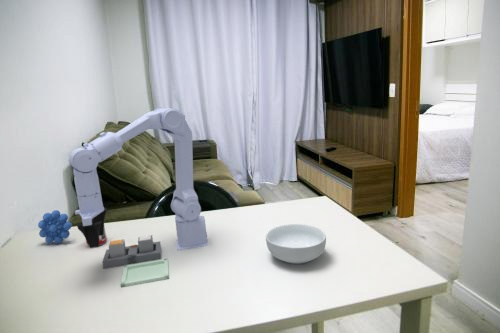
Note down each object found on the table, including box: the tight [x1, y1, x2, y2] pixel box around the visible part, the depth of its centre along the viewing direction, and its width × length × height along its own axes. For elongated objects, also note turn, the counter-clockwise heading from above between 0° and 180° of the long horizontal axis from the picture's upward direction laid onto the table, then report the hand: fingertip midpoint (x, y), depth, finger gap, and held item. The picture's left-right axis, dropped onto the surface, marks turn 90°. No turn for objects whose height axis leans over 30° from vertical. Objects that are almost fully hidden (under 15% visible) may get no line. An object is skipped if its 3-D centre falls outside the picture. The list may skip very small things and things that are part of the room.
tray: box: [120, 258, 170, 288], centre depth 93 cm, size 12×10×1 cm
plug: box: [108, 238, 128, 258], centre depth 101 cm, size 4×4×6 cm
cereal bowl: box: [265, 223, 327, 265], centre depth 98 cm, size 17×17×7 cm
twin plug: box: [137, 234, 154, 254], centre depth 103 cm, size 4×4×6 cm
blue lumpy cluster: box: [38, 210, 73, 245], centre depth 117 cm, size 12×7×12 cm, turn 87°
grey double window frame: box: [101, 241, 162, 270], centre depth 103 cm, size 16×8×3 cm, turn 104°
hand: (96, 240), depth 93 cm, fingers open, 7 cm apart
